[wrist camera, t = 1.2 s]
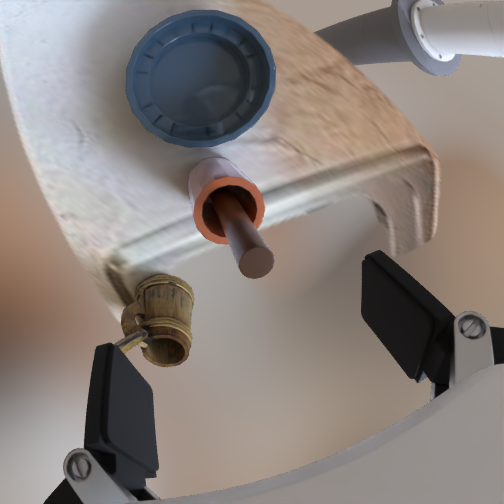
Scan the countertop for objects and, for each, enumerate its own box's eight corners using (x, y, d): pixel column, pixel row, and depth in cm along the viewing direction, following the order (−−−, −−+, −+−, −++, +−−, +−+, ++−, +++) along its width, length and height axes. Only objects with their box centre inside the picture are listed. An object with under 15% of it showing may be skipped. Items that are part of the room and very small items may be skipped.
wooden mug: (136, 243, 38) (120, 336, 22) (205, 296, 44) (227, 391, 29) (101, 283, 39) (78, 379, 24) (168, 328, 46) (176, 422, 30)
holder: (220, 146, 34) (238, 162, 25) (250, 186, 38) (277, 216, 29) (177, 179, 35) (178, 208, 26) (209, 217, 39) (222, 257, 29)
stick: (216, 170, 35) (262, 239, 18) (227, 185, 37) (281, 264, 20) (201, 182, 35) (231, 262, 19) (212, 196, 37) (252, 285, 20)
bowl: (215, 4, 25) (223, -13, 20) (282, 96, 33) (301, 95, 28) (109, 75, 26) (97, 69, 21) (183, 165, 34) (185, 176, 29)
